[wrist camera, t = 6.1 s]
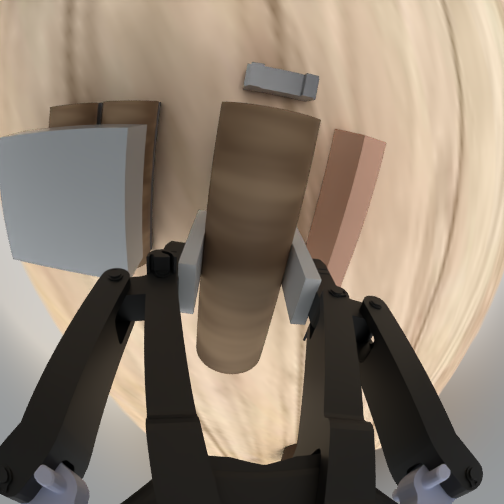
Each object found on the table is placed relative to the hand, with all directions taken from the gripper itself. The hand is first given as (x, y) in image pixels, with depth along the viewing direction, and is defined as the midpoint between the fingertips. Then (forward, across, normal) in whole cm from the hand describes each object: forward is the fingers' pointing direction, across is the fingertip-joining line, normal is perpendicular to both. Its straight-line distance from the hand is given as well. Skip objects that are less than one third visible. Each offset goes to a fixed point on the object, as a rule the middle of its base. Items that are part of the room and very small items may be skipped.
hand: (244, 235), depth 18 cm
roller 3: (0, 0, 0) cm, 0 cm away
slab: (+5, -16, 0) cm, 16 cm away
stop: (+11, +9, 0) cm, 14 cm away
